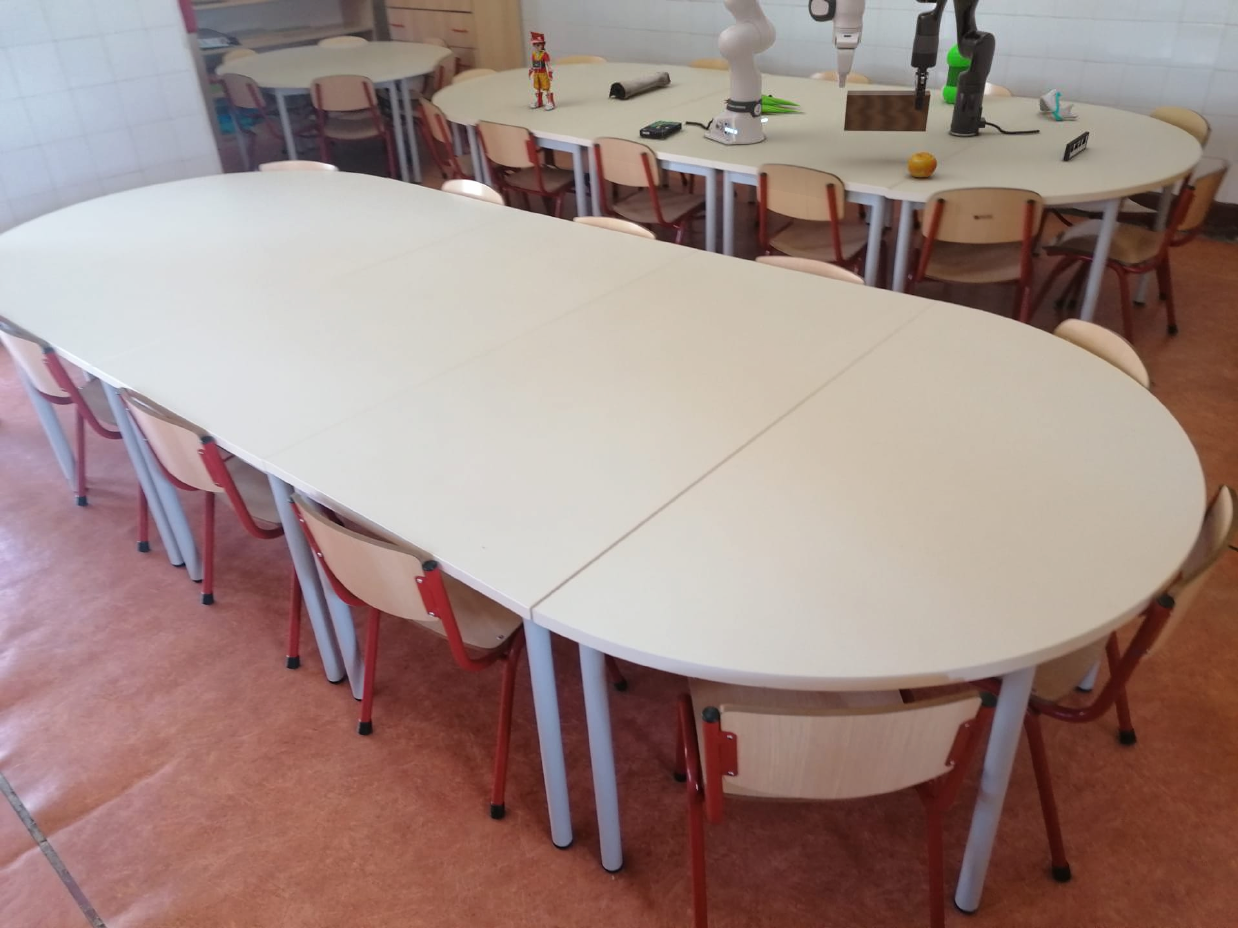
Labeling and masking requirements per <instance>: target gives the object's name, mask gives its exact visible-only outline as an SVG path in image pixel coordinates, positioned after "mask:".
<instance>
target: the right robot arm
mask: <svg viewBox="0 0 1238 928" xmlns="http://www.w3.org/2000/svg"><path fill="white" fill-rule="evenodd" d="M915 2H917V3H919V4H935V7H934V8H933V9H931V10H925V11H922V12H920V13H918V15H917V17H916V23H915V24H916V26H915V33H914V34H915V35H914V37H913V43H912V52H911V60H910V66H911V67H912V68H915V69H916V71H915V73H914V86H915V87H914V91H916V102H915V110H921V109H922V105H923V97H924V96H925V91H926V90H927V87H928V80H929V78H930V72H929V71H928V69H932V68H935V67H936V66H937V60H938V53H939V46H940V32H941V24H942V18H943V15H944V11H945V9H946V5H947V2H948V0H915ZM979 2H980V0H952V3H953V9H954V11H953V12H954V17H955V27H956V44H957V46H958V52H959V54H960V56H961V57H962V58H964V59H967V60H971V64H970V67H969V69H968V70H967V71H963V72H961V73H960V74H959V77H958V83H957V90H956V96H955V103H953V110H952V115H951V122H950V129H949V134H950V135H952V136H956V137H973V136H979V131H980V129H986V126H988V127H989V126H990V127H993V128H995V129H997V130H998V132H1000V133H1002V134H1003V135H1004V134H1005V135H1027V134H1037V133H1041V131H1040V129H1034V130H1033V129H1032V130H1016V131H1007V130H1005V129H1004V130H1003V128H1001V127H1000V126H999V125H997V124H995V123H993V122H988V121H987V119H986V118H985V117H984V116H982V115H983V109H984V107H983V102H984V96H985V90H986V83H987V79H988V77H989V74H990V73H991V69H992V65H993V61H994V56H995V51H996V44H997V43H996V37H995V35H994V34H993V33H992V32H989V31H984V30H979V29H978V27H977V21H976V9H977V7H978V4H979ZM919 91H923V92H919Z"/></svg>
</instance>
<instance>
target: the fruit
mask: <svg viewBox="0 0 1238 928" xmlns="http://www.w3.org/2000/svg"><path fill="white" fill-rule="evenodd" d="M937 166H938V162H937V159H936V157H935V156H934V155H933V154H931V153H929V152H926V151H925V152H924V151H923V152H916V153H915V154H913V155H912V156H911V157H910V158H909V160H908V162H907V171H908V172H909V174H910V175H911V176H912V177H914V178H922V179H923V178H927V177H930V176H931V175H933V173H934V172H935V171H936V169H937Z"/></svg>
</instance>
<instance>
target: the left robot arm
mask: <svg viewBox="0 0 1238 928" xmlns="http://www.w3.org/2000/svg"><path fill="white" fill-rule="evenodd" d="M866 1H867V0H808V4H807V5H808V6H807V7H808V13H809V16H810V17H811V18H812V20H813V21H815V22H818V23H826V22H833V25H832V26H833V29H832V37H831V43H832V44H834V47H835V49H836V52H837V54H836V56H837V58H836V59H837V61H836V62H837V64H836V65H837V75H838V81H839V82H838V87H839V88H840V89H841V88H842V89H843V88H845V87H846V80H847V76H849V75H850V74H851V70H852V66H853V61H854V56H855V51H856V49H857V48H858V46H859V44H860V43H862V35H863V26H864V23H863V16H864V14H865V11H866V3H867V2H866ZM723 5H724V7H725V9H726V10H727V11H728V12H730V13H731V15H732V16H733V18H734V20H735V22H736V24H733V25H730V26H729V27H727V28H725V29H724V30H723V31H722V32H721V33H720V34H719V36H718V39H717V50H718V52H719V54H720V56H721V57H722V58H723V59H724V60H725V61H726V65H727V68H728V72H729V73H728V74H729V98H728V99H725V100H723V101H724V102H723V104H724V105H725V104H726V107H725V109H724V110H722V111H721V112H720V113H719V114H717V115H716V116H715V117H713V118H711V120H709V122H708V123H707V125H704V124H703V123H702V122H698V121H697V122H696V121H687V120H686V121H685V122H684V123H685V124H686V125H692V126H700V127H701V128H702V129H704V130H709V129H710V127H711V130H709V131H707V132H706V133H705V134H704V137H705V138H707V139H710V140H713V141H716V142H718V143H721V144H724V145H730V146H731V145H732V146H733V145H749V144H756V143H760V142H762V141H764V140H765V135H764V129H763V123H764V122H768V118H762V112H761V111H762V97H761V94H762V88H763V87H762V85H763V74H762V72H761V71H760V70H759V69H758V68H757V64H756V61H755V60H756V59H755V56H756V55H758V54H762V53H764V52H766V50H768V49H769V48H771V47H772V46H773V44H775V41H776V38H777V30H776V29H777V28H776V27H775V25H774V23H773V22H772V21H771V20H770V19H769V18H767V16H766V14H765V12H764V9H763V8H762V5H761V3H760V1H759V0H723Z"/></svg>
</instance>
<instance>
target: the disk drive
mask: <svg viewBox="0 0 1238 928" xmlns="http://www.w3.org/2000/svg"><path fill="white" fill-rule="evenodd" d="M682 129H683V122H680V121H679V122H677V121H666V120H658V121H654V122H653V123H651V124H649V125H647V126H645V127H643V128H640V129H639V137H642V138H649V139H657V140H658V139H659V140H663V139H665V138H668V137H670V136H672V135H673V134H675V133H677V132H679V131H681V130H682Z"/></svg>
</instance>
